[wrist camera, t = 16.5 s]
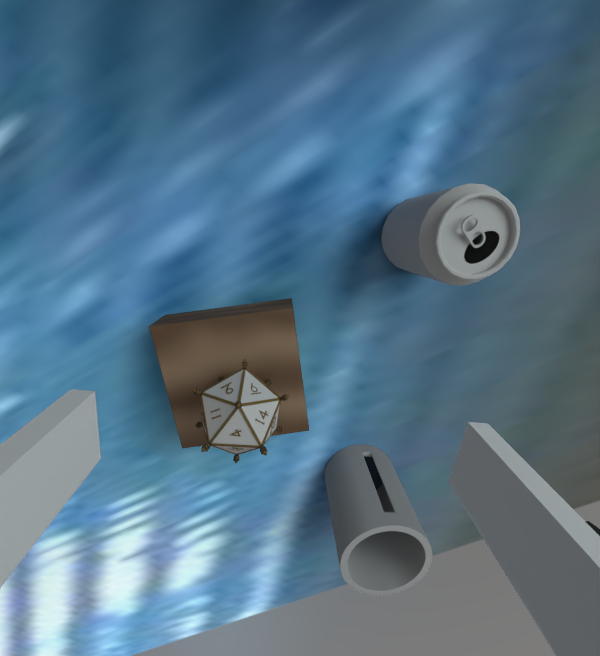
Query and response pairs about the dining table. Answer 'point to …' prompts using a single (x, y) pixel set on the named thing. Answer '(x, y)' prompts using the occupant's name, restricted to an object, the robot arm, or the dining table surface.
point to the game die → (239, 413)
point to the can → (452, 234)
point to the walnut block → (229, 359)
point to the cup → (374, 524)
